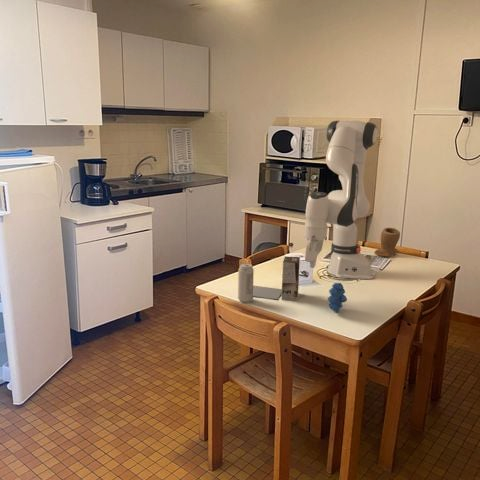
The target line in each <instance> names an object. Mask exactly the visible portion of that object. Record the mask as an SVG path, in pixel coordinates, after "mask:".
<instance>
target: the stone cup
mask: <svg viewBox="0 0 480 480" xmlns="http://www.w3.org/2000/svg"><path fill="white" fill-rule="evenodd" d="M400 237H401V232H400V231H399V230H398V229H397V228H394V227H385V228H384V229H382V231H381V234H380V248H378V249H376V250H374V254H375V255H377V256H380V257H386V258H388V257H392V256H395V254H398V253H399V249H397V248H396V246H397V244H398V242H399V240H400Z"/></svg>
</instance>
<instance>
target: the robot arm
mask: <svg viewBox="0 0 480 480" xmlns="http://www.w3.org/2000/svg"><path fill="white" fill-rule="evenodd" d="M378 133H379V131H378V127H377V126H376V124H375V123H372V122H371V121H370V122H368V121H367V122H366V121H360V120H333V121H331V122H330V123H329V124H328V125H327V128H326V133H325V134H326V135H325V136H326V141H327V142H328V143H329V144H328V147H327V151H326V155H325V163H326V165H327V167H328V169H329V170H331V171H332V172H333V173H334V174H336V175H338V180H339V181H340V184H341V188H342V189H336V190H332V191H330V192H329V193H328V194H327V193H326V192H322V191H315V192H312V193H310V194H308V196H307V200H306V205H305V206H306V207H305V222H304V231H303V238H304V239H306V245H305V246H306V247H305V255H304V261H305V262H307V263H309V267H310V268H311V269H315V267H316V266H317V265H316V264H317V260H318V256H319V255H320V254H321V252H322V249H323V247H324V241H325V240H326V239H327V235H328V234H327V232H328V224H332V226H333V229H332V230H333V231H332V232H333V233H332V241H331V246H330V255H331V257H330V260H329V265H328V267H327V269H326V270H327V272H328V273H329V274H331V275H333V276H335V277H337V278H339V279H353V280H356V279H357V280H359V279H360V280H372V279H374V278H375V277H376V271H375V269H372V265H371V261H370V260H369V258H367V257H366V256H365V255H364V254H362V253H361V250H362V248H361V245H359V244H357V239H358V227H357V225H356V223H355V222H356V221H357V219H362V218H364V217H366V216H367V215H368V213H369V211H370V208H371V204H370V201H369V199H368V197H367V195H366V193H365V186H364V175H365V168H366V167H365V166H366V158H367V150H368V149H369V148H372V147H373V146H374V145H375V143H376V142H377V139H378Z"/></svg>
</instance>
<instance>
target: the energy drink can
mask: <svg viewBox="0 0 480 480" xmlns="http://www.w3.org/2000/svg"><path fill="white" fill-rule="evenodd" d="M254 272H255V271H254V268H253V265H252V264H251V263H241V264H240V265H239V268H238V271H237V273H238V275H237V277H238V279H237V280H238V281H237V282H238V285H237V286H238V287H237V288H238V289H237V291H238V292H237V299H238V301H239V302H240V303H243V304H248V303H251V302H252V301H253V299H254V297H253V286H254Z"/></svg>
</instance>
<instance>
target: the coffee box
mask: <svg viewBox="0 0 480 480" xmlns="http://www.w3.org/2000/svg"><path fill="white" fill-rule="evenodd" d="M300 260H301V257H300V256H285V257H284V258H283V261H282V280H281V289H282V294H281V298H280V299H281V300H285V301H294V302H295V301H297V299H298V294H299V285H300V284H299V283H300V264H301V263H300Z"/></svg>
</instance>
